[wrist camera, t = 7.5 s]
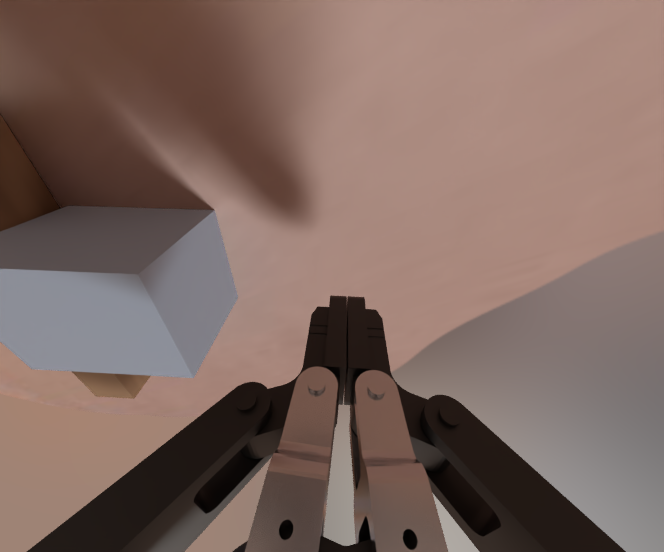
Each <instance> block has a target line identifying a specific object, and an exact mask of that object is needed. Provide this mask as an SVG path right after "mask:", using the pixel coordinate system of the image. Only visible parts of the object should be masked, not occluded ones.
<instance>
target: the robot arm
mask: <svg viewBox="0 0 664 552" xmlns="http://www.w3.org/2000/svg"><path fill="white" fill-rule="evenodd" d="M343 395H344V404H345V405H350V424H349V432H350V445H351V458H352V471H353V485H354V523H355V537H356V544H353V545H350V546H342V545H340V544H338V543H336V542H334V541H331V540H329V539H327V538H325V537H323V533H324V524H325V515H326V505H327V495H328V485H329V476H330V467H331V457H332V449H333V439H334V430H335V427H336V424H337V417H338V405H339V404H341V405H342V404H343ZM271 457H272V458H271ZM270 458H271V461H270V464H269V467H268V470H267V474H266V477H265V481H264V485H263V488H262V492H261V495H260V499H259V503H258V506H257V510H256V513H255V517H254V521H253V524H252V528H251V531H250V535H249V538H248V541H247V542H245V543H244V544H242V545H241V546H239V547H238V548H237V549H235V550H234V551H233V552H448V549H447V545H446V542H445V538H444V534H443V531H442V528H441V523H440V520H439V516H438V513H437V509H436V505H435V501H434V498H433V494H434V495H435V496H436V497H437V499H438V500H439V501H440V502H441V504H442V505H443V506H444V507H445V509H446V510H447V511H448V512H449V514H450V515H451V516H452V517H453V519H454V520H455V521H456V523H457V524H458V525H459V526H460V528H461V529H462V530H463V531H464V533H465V534H466V535H467V536H468V538H469V539H470V540H471V541H472V543H473V544H474V545H475V546H476V548H477V549H478V550H479V551H480V552H626V551H624V550H623V549H622V548H621V547H620V546H619V545H618V544H617V543H615V542H614V541H613V540H612V539H611V538H610V537H609V536H607V534H606V533H604V532H603V531H602V530H601V529H600V528H599V527H597V526H596V525H595V524H594V523H593V522H592V521H591V520H590V519H589V518H588V517H587V516H585V515H584V514H583V513H582V512H581V511H580V510H579V509H578V508H577V507H575V506H574V505H573V504H572V503H571V502H570V501H569V500H567V498H565V497H564V496H563V495H562V494H561V493H560V492H559V491H558V490H556V489H555V488H554V487H553V486H552V485H551V484H550V483H549V482H547V480H545V479H544V478H543V477H542V476H541V475H540V474H539V473H538V472H537V471H535V470H534V469H533V468H532V467H531V466H530V465H529V464H528V463H527V462H525V461H524V460H523V459H522V458H521V457H520V456H519V455H518V454H516V453H515V452H514V451H513V450H512V449H511V448H510V447H509V446H508V445H507V444H505V443H504V442H503V441H502V440H501V439H500V438H499V437H498V436H497V435H495V434H494V433H493V432H492V431H491V430H490V429H489V428H487V426H485V425H484V424H483V423H482V422H481V421H480V420H479V419H478V418H477V417H475V416H474V415H473V414H472V413H471V412H470V411H469V410H468V409H466V408H465V407H464V406H463V405H462V404H461V403H459V402H458V401H457V400H455V399H453V398H451V397H449V396H446V395H435V396H432V397H431V398H429V399H428V400H427V399H425V398H422V397H419V396H417V395H414V394H411V393H409V392H407V391H406V390H404V389H402V388H401V387H400V386H399V385H398V384H397V383H396V382H395V380H394V379H393V377H392V375H391V371H390V366H389V359H388V353H387V347H386V340H385V334H384V328H383V321H382V318H381V316H380V315H379V314H378V312H377V311H376V310H371V309H365V299H364V297H349V296H348V299H347V297H346V296H330V305H329V307H317V308H316V310H315V311H314V312H313V314H312V315H311V321H310V327H309V335H308V339H307V345H306V351H305V357H304V363H303V368H302V370H301V372H300V374H299V375H298V376H297V377H296V378H295V379H294V380H293V381H291V382H289V383H287V384H285V385H282V386H278V387H274V388H270V389H267V388H266V387H265V386H264V385H263V384H261V383H257V382H248V383H244V384H242V385H240V386H238V387H236V388H235V389H234V390H232V391H231V392H230V393H229V394H227V395H226V396H225V397H224V398H222V399H221V400H220V401H218V402H217V403H216V404H215V405H213V406H212V407H211V408H209V409H208V410H207V411H206V412H204V413H203V414H202V415H201V416H199V417H198V418H197V419H195V420H194V421H193V422H192V423H190V424H189V425H188V426H187V427H185V428H184V429H183V430H181V431H180V432H179V433H178V434H176V435H175V436H174V437H172V438H171V439H170V440H169V441H167V442H166V443H165V444H164V445H162V446H161V447H160V448H158V449H157V450H156V451H155V452H154V453H152V454H151V455H150V456H148V457H147V458H146V459H144V460H143V461H142V462H141V463H139V464H138V465H137V466H136V467H134V468H133V469H132V470H130V471H129V472H128V473H127V474H125V475H124V476H123V477H122V478H120V479H119V480H118V481H116V482H115V483H114V484H113V485H111V486H110V487H109V488H107V489H106V490H105V491H104V492H102V493H101V494H100V495H98V496H97V497H96V498H95V499H93V500H92V501H91V502H90V503H88V504H87V505H86V506H84V507H83V508H82V509H81V510H80V511H78V512H77V513H76V514H74V515H73V516H72V517H71V518H69V519H68V520H67V521H65V522H64V523H63V524H62V525H60V526H59V527H58V528H57V529H55V530H54V531H53V532H51V533H50V534H49V535H48V536H46V537H45V538H44V539H42V540H41V541H40V542H39V543H37V544H36V545H35V546H34V547H32V548H31V549H30V550H28V551H27V552H185V550H186V549H187V548H188V547H189V546H190V545H191V544H192V543H193V542H194V541H195V540H196V539H197V537H198V536H199V535H200V534H201V533H202V532H203V531H204V530H205V529H206V528H207V527H208V525H209V524H210V523H211V522H212V521H213V520H214V519H215V518H216V517H217V516H218V515H219V513H220V512H221V511H222V510H223V509H224V508H225V507H226V506H227V505H228V504H229V503H230V501H231V500H232V499H233V498H234V497H235V496H236V495H237V494H238V493H239V492H240V491H241V490H242V489H243V487H244V486H245V485H246V484H247V483H248V482H249V481H250V480H251V479H252V478H253V477H254V475H255V474H256V473H257V472H258V471H259V470H260V469H261V468H262V467H263V466H264V465H265V463H266V462H267V461H268V460H269V459H270ZM432 492H433V494H432Z"/></svg>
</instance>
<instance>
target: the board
mask: <svg viewBox="0 0 664 552" xmlns="http://www.w3.org/2000/svg"><path fill="white" fill-rule="evenodd" d="M58 209H60V208H59V206H58V205H57V203H56V201H55V200H54V198H53V197H52V195H51V194H50V192H49V190H48V189H47V187H46V186H45V184H44V183H43V181H42V179H41V178H40V176H39V175H38V173H37V171H36V170H35V168H34V167H33V165H32V164H31V162H30V160H29V159H28V157H27V156H26V154H25V153H24V151H23V149H22V148H21V146H20V145H19V143H18V141H17V140H16V138H15V137H14V135H13V134H12V132H11V130H10V129H9V127H8V126H7V124H6V123H5V121H4V119H3V118H2V116H1V115H0V232H1V231H3V230H6V229H9V228H11V227H14V226H16V225H19V224H22V223H24V222H27V221H29V220H32V219H35V218H37V217H40V216H42V215H45V214H48V213H50V212H53V211H55V210H58ZM72 372H73V373H74V374H75V375H76V376H77V377H78V378H79V379H80V380H81V381H82V382H83V383H84V385H85V386H86V387H87V388H88V389H89V390H90V391H91V392H92V393H93V394H94V395H95V396H100V397H117V398H135V397H136V395H137V394H138V393H139V391H140V390H141V388H142V387H143V386H144V384H145V383H146V381H147V380H148V379H149V377H150V376H148V375H130V374H111V373H93V372H75V371H72Z"/></svg>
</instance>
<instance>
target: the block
mask: <svg viewBox="0 0 664 552" xmlns="http://www.w3.org/2000/svg"><path fill="white" fill-rule="evenodd" d="M237 298H238V295H237V292H236V288H235V284H234V281H233V277H232V273H231V269H230V266H229V262H228V258H227V254H226V251H225V247H224V243H223V239H222V236H221V232H220V228H219V224H218V221H217V217H216V213H215V210H195V209H162V208H130V207H97V206H66V207H63V208H61V209H58V210H55V211H53V212H50V213H48V214H45V215H42V216H40V217H37V218H35V219H32V220H29V221H27V222H24V223H22V224H19V225H16V226H14V227H11V228H9V229H6V230H3V231H1V232H0V342H1V343H3V344H4V345H5V346H6V347H7V348H8V349H9V350H11V351H12V352H13V353H14V354H15V355H16V356H17V357H19V358H20V359H21V360H22V361H23V362H24V363H26V364H27V365H28V366H29V367H30V368H31V369H39V370H57V371H75V372H93V373H111V374H130V375H148V376H166V377H184V378H194V376H195V375H196V373H197V371H198V369H199V367H200V366H201V364H202V362H203V360H204V358H205V357H206V355H207V353H208V351H209V349H210V347H211V346H212V344H213V342H214V340H215V338H216V337H217V335H218V333H219V331H220V329H221V327H222V326H223V324H224V322H225V320H226V318H227V317H228V315H229V313H230V311H231V309H232V308H233V306H234V304H235V302H236V300H237Z"/></svg>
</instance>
